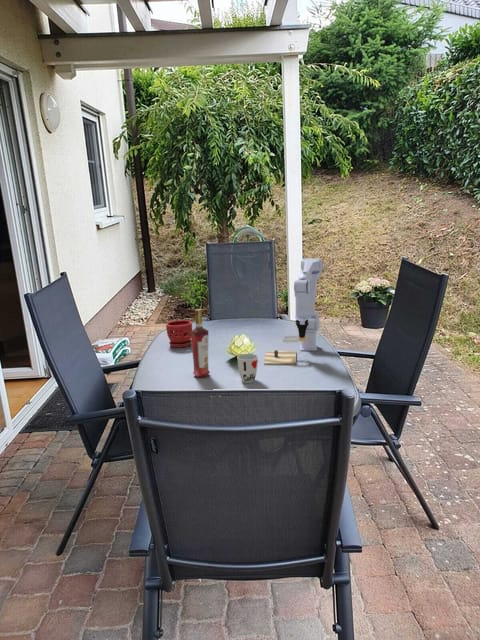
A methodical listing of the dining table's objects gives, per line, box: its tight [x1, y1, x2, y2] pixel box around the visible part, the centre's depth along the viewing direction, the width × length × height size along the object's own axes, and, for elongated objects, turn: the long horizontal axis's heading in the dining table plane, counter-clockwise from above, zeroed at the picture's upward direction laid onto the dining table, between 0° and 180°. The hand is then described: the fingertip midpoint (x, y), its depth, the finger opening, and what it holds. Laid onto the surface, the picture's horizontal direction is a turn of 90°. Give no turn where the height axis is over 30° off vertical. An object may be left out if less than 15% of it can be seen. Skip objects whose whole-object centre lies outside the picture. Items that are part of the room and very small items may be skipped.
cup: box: [236, 353, 259, 384], centre depth 189 cm, size 8×8×10 cm
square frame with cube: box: [282, 333, 306, 343], centre depth 214 cm, size 10×7×5 cm
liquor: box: [190, 308, 211, 378], centre depth 195 cm, size 7×7×28 cm
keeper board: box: [263, 349, 297, 366], centre depth 217 cm, size 18×14×4 cm
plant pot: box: [165, 320, 193, 348], centre depth 242 cm, size 13×13×12 cm
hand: (302, 336), depth 214 cm, fingers closed on square frame with cube, 3 cm apart
